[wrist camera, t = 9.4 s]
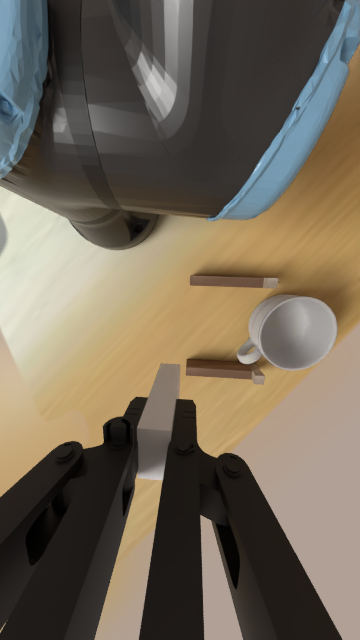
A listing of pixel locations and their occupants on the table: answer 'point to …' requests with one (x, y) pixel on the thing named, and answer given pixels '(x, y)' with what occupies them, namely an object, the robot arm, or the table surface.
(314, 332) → the teacup
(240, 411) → the table surface
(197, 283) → the brown parallel rails
